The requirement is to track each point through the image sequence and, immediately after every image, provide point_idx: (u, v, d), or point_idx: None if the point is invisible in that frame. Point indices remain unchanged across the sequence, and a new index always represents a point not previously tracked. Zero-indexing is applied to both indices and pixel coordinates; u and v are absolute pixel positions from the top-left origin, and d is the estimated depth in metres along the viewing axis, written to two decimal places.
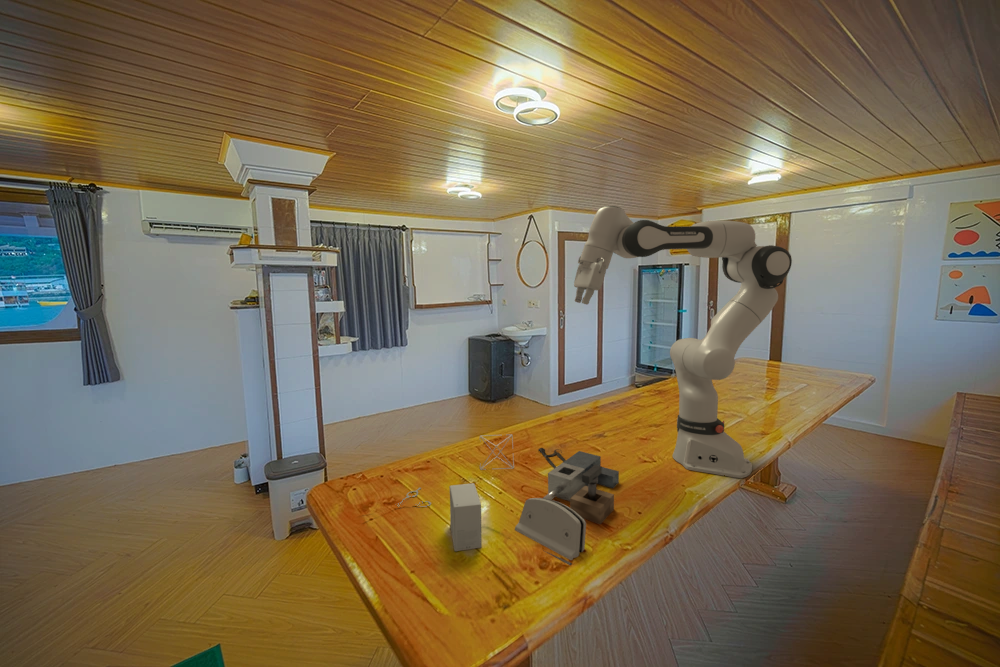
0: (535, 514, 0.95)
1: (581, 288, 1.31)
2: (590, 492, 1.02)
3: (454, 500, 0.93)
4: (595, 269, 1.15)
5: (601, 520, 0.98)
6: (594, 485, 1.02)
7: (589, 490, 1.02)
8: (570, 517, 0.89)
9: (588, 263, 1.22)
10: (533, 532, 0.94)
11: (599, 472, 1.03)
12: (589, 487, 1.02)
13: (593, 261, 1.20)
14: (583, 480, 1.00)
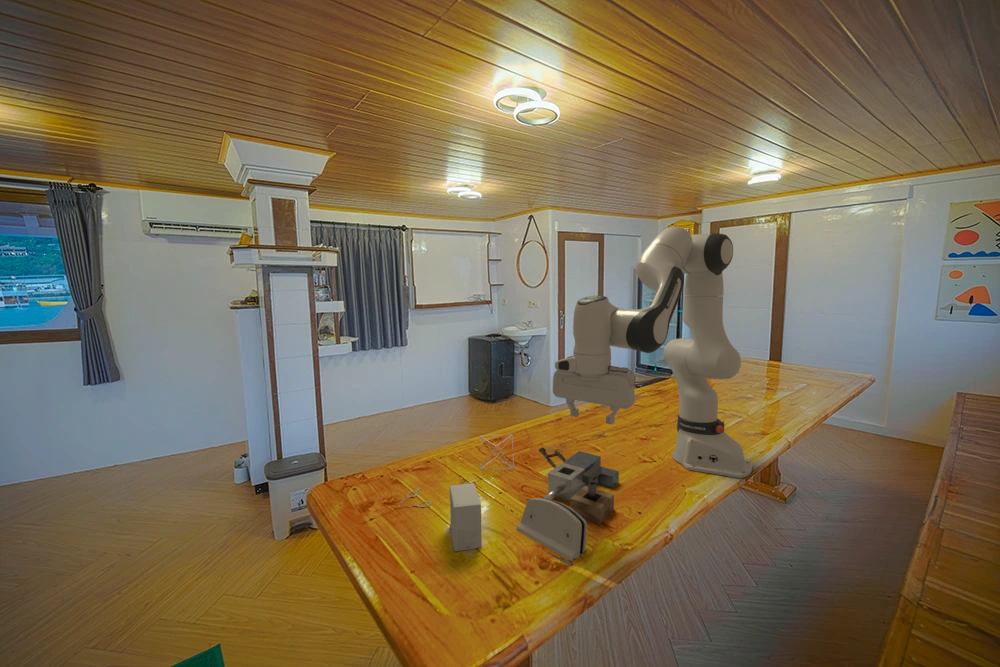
0: (536, 514, 0.95)
1: None
2: (590, 492, 1.02)
3: (454, 500, 0.93)
4: (628, 386, 0.92)
5: (601, 520, 0.98)
6: (594, 485, 1.02)
7: (589, 490, 1.02)
8: (571, 518, 0.89)
9: (597, 375, 0.96)
10: (534, 532, 0.94)
11: (599, 472, 1.03)
12: (589, 487, 1.02)
13: (605, 372, 0.95)
14: (583, 480, 1.00)
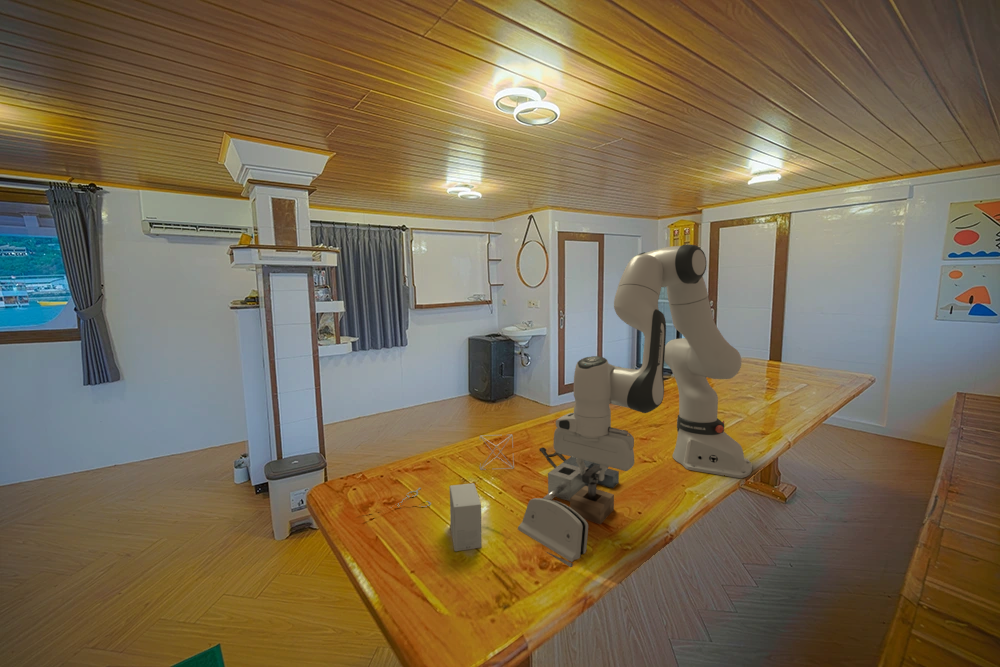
0: (538, 514, 0.95)
1: None
2: (590, 492, 1.02)
3: (454, 500, 0.93)
4: (627, 449, 0.94)
5: (601, 520, 0.98)
6: (594, 485, 1.02)
7: (589, 490, 1.02)
8: (572, 518, 0.89)
9: None
10: (535, 532, 0.94)
11: None
12: (589, 487, 1.02)
13: (605, 433, 0.97)
14: (583, 480, 1.00)
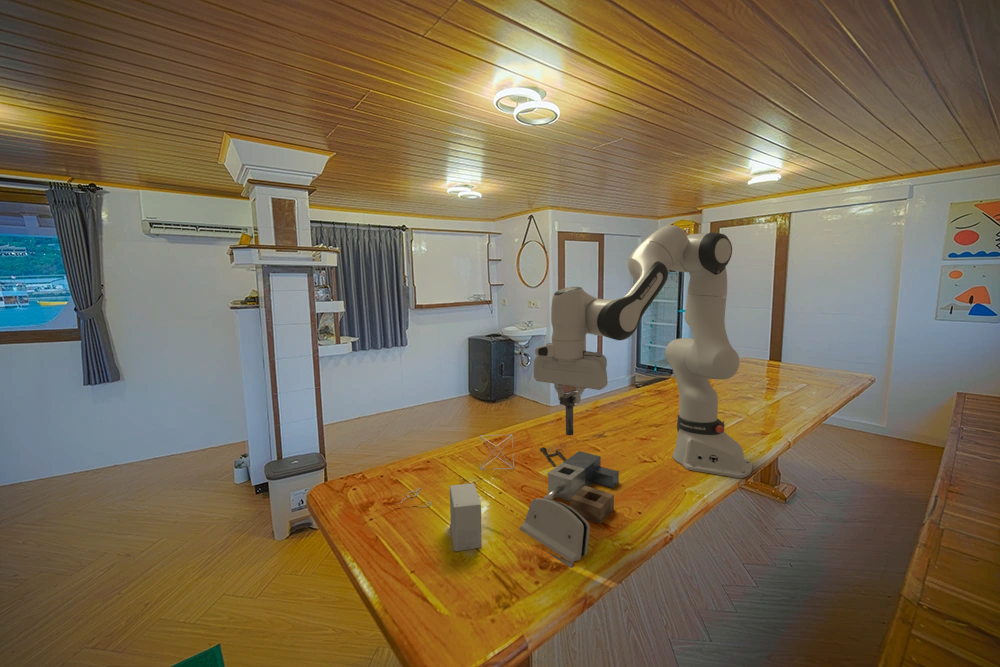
0: (540, 514, 0.95)
1: None
2: (568, 414, 1.08)
3: (454, 500, 0.92)
4: (600, 369, 1.01)
5: (601, 520, 0.98)
6: (571, 408, 1.08)
7: (566, 413, 1.09)
8: (573, 519, 0.88)
9: (572, 359, 1.04)
10: (537, 532, 0.94)
11: None
12: (566, 410, 1.09)
13: (581, 356, 1.04)
14: (560, 402, 1.07)
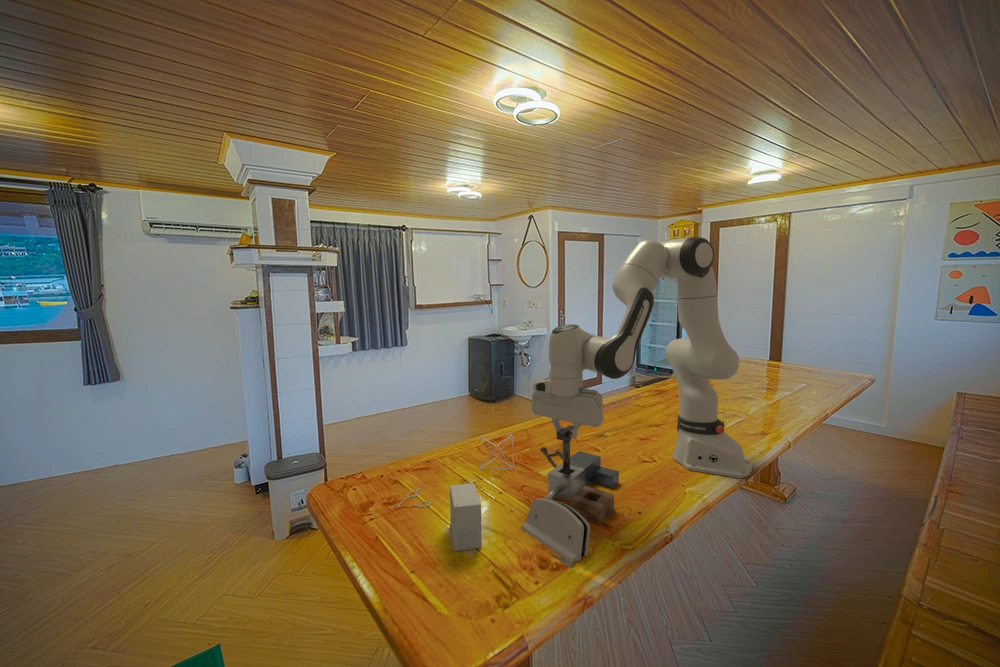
0: (541, 514, 0.95)
1: None
2: (564, 449, 1.11)
3: (454, 500, 0.93)
4: (596, 407, 1.03)
5: (601, 520, 0.98)
6: (568, 442, 1.11)
7: (563, 447, 1.11)
8: (573, 520, 0.88)
9: (569, 396, 1.07)
10: (538, 532, 0.94)
11: None
12: (563, 444, 1.11)
13: (577, 393, 1.06)
14: (557, 437, 1.09)
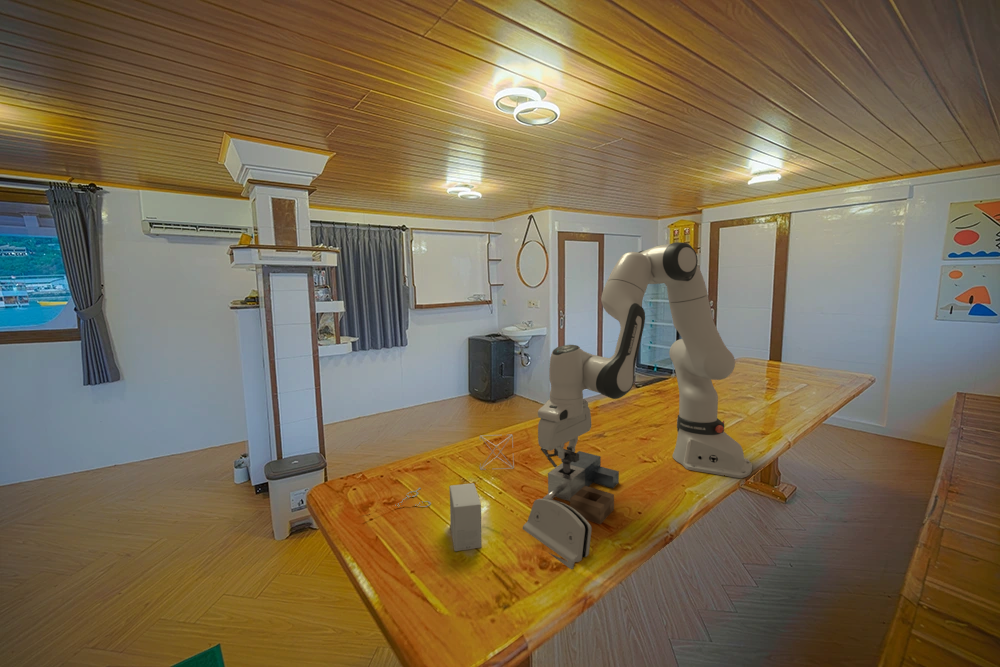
0: (542, 515, 0.95)
1: None
2: (569, 470, 1.12)
3: (454, 500, 0.93)
4: None
5: (601, 520, 0.98)
6: None
7: (568, 469, 1.11)
8: (574, 521, 0.88)
9: None
10: (539, 533, 0.94)
11: None
12: (568, 467, 1.11)
13: None
14: (575, 460, 1.09)
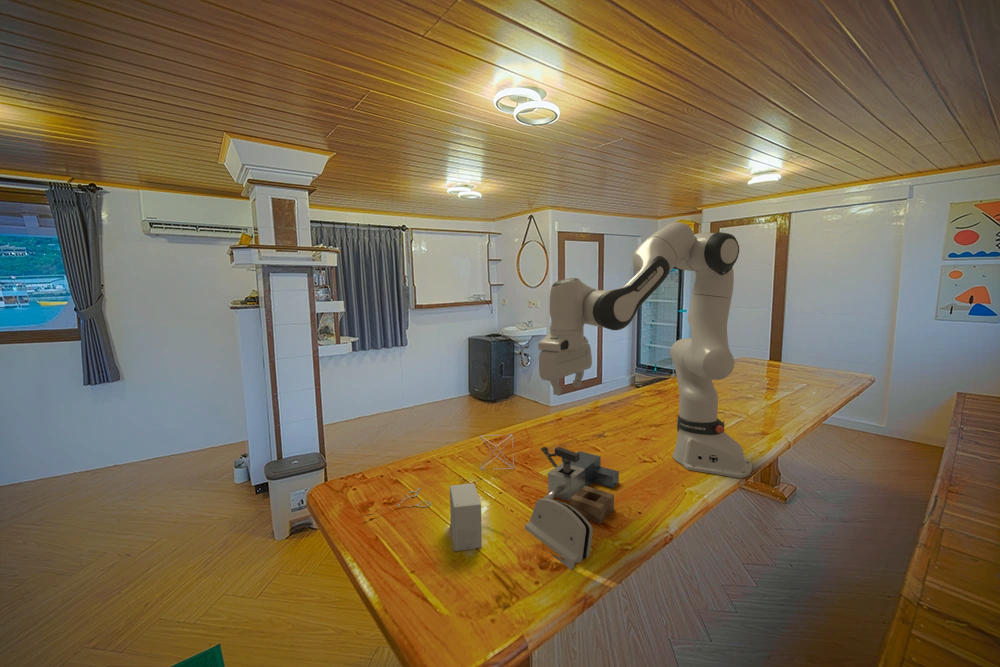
0: (544, 515, 0.95)
1: None
2: (570, 470, 1.12)
3: (454, 500, 0.93)
4: None
5: (601, 520, 0.98)
6: None
7: (569, 469, 1.11)
8: (575, 521, 0.87)
9: None
10: (541, 532, 0.94)
11: None
12: (569, 467, 1.11)
13: None
14: (576, 460, 1.09)
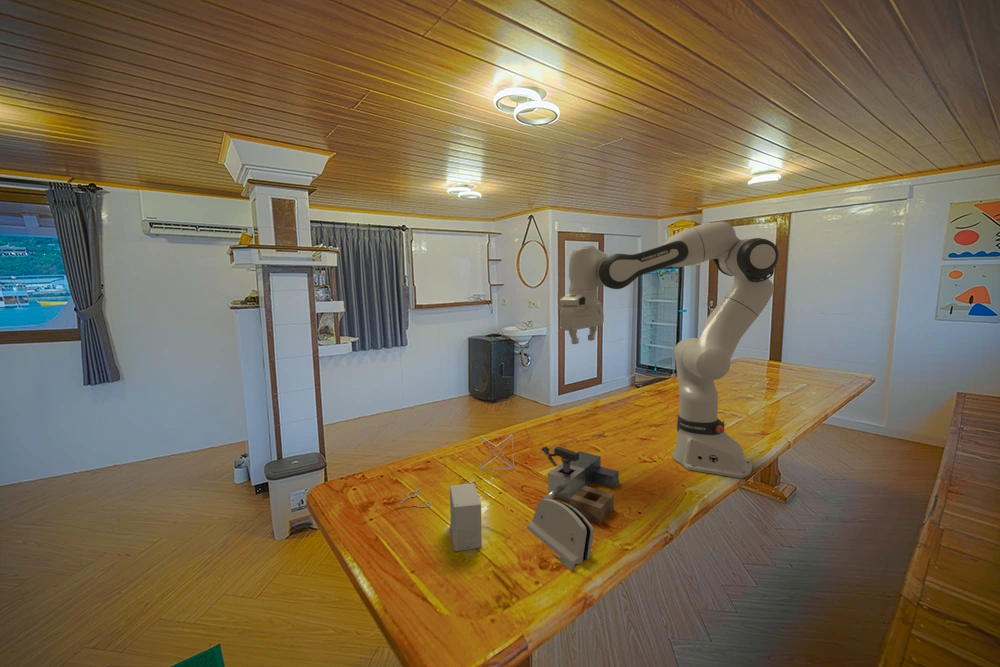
0: (546, 515, 0.95)
1: None
2: (569, 469, 1.12)
3: (454, 500, 0.93)
4: None
5: (601, 520, 0.98)
6: None
7: (568, 469, 1.12)
8: (576, 522, 0.87)
9: None
10: (543, 533, 0.94)
11: None
12: (568, 466, 1.12)
13: None
14: (575, 459, 1.09)
